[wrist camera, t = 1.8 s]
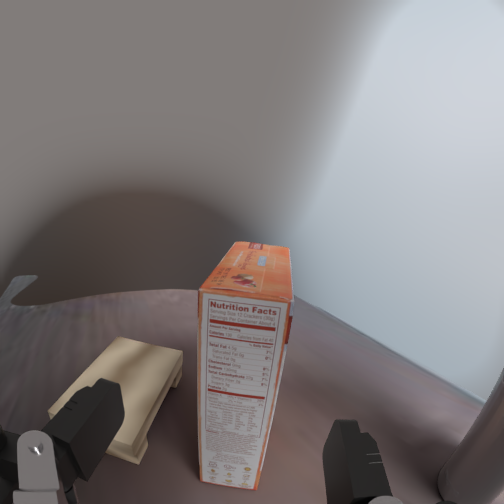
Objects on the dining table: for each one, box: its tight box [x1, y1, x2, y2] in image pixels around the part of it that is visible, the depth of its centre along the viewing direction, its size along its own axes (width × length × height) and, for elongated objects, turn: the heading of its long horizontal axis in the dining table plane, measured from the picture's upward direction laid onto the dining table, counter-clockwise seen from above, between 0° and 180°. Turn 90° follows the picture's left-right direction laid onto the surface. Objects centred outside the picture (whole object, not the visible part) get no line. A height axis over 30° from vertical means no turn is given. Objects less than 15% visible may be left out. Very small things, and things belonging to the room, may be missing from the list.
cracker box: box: [197, 242, 294, 490], centre depth 26 cm, size 14×6×21 cm, turn 174°
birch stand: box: [48, 336, 183, 465], centre depth 30 cm, size 10×18×4 cm, turn 175°
